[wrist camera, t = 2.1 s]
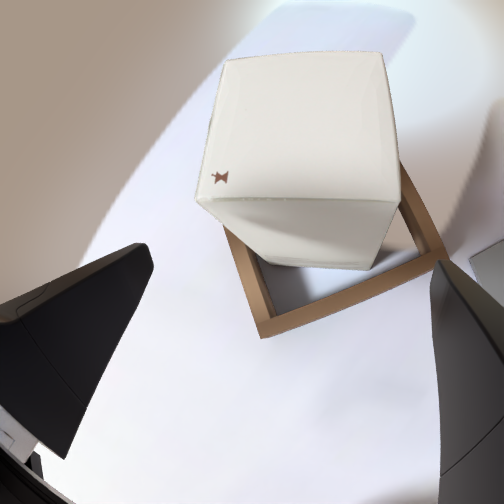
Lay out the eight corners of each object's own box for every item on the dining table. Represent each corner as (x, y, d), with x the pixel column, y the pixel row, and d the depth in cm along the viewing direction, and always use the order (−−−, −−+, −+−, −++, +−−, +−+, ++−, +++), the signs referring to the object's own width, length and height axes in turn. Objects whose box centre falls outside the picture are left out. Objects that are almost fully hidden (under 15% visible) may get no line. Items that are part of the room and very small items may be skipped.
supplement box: (371, 273, 21) (405, 210, 9) (267, 266, 23) (184, 202, 11) (373, 175, 22) (386, 48, 10) (277, 172, 24) (219, 56, 12)
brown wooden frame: (439, 266, 19) (449, 259, 17) (269, 337, 22) (260, 339, 19) (361, 121, 23) (361, 102, 21) (216, 181, 26) (204, 168, 23)
